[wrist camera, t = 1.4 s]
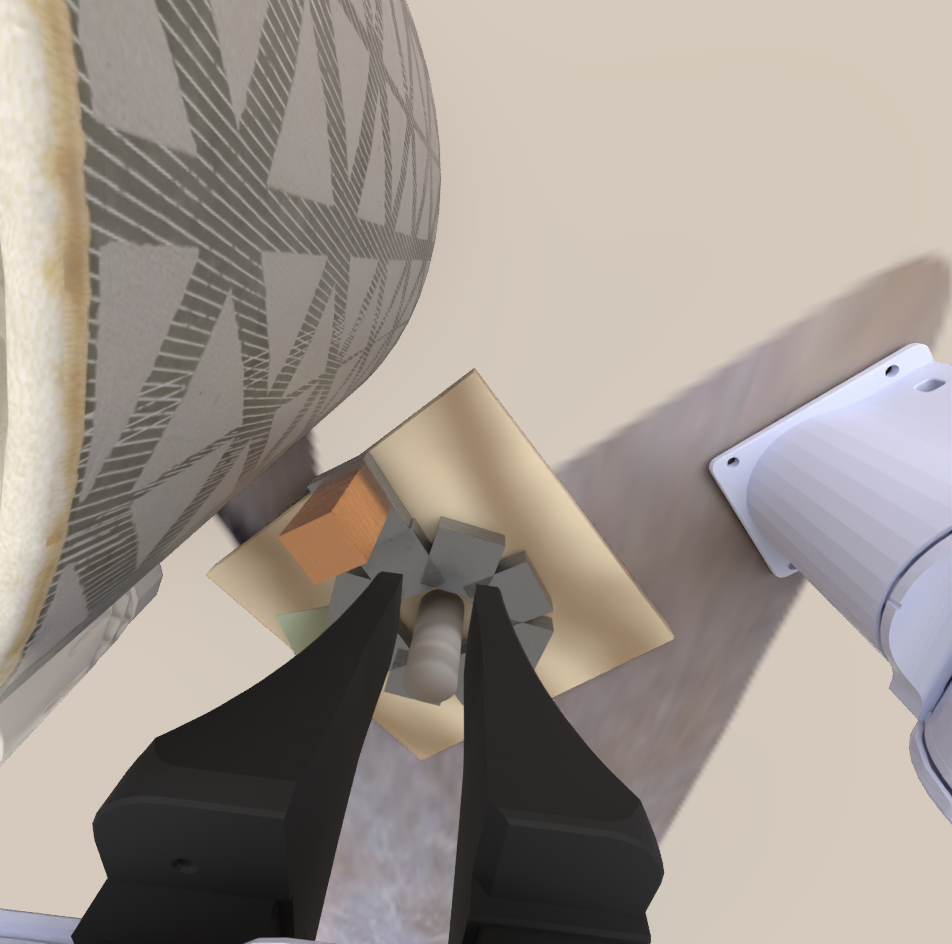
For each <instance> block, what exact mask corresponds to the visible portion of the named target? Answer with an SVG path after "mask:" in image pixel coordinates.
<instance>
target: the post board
mask: <svg viewBox="0 0 952 944" xmlns="http://www.w3.org/2000/svg"><path fill="white" fill-rule="evenodd" d="M367 451H369V452H370V453H371V455H372V456H373V458H374V460H375V461H376V463H377V464H378V466H379V467H380V469H381V470H382V472H383V474H384V475H385V477H386V478H387V480H388V481H389V483H390V484H391V486H392V488H393V489H394V491H395V492H396V494H397V495H398V497H399V498H400V500H401V502H402V503H403V505H404V506H405V508H406V509H407V511H408V512H409V514H410V516H411V517H412V518H414V517H415V519H416V521H417V522H418V524H419V525H420V527H421V528H422V530H423V531H424V533H425V535H426V536H427V538H428V539H429V541H430V542H431V544H432V542H433V539H434V536H435V533H436V530H437V527H438V524H439V521H440V518H441V516H443V517H446V518H450V519H453V520H456V521H460V522H463V523H466V524H470V525H473V526H477V527H480V528H483V529H487V530H490V531H493V532H497V533H500V534H503V535H505V544H506V547H505V549H504V551H503V554H502V556H501V559H500V560H502V559H504V558H507V557H509V556H512V555H514V554H516V553H519V552H521V551H524V550H525V551H526V553H527V555H528V557H529V558H530V560H531V562H532V564H533V566H534V567H535V569H536V571H537V573H538V575H539V577H540V578H541V580H542V582H543V584H544V586H545V587H546V589H547V591H548V593H549V595H550V596H551V599H552V605H553V612H550V613H547V614H545V615H544V616H548V617H551V618H552V622H553V628H554V632H553V634H552V636H551V638H550V640H549V642H548V644H547V646H546V648H545V650H544V652H543V654H542V656H541V658H540V660H539V662H538V664H537V666H536V668H535V672H536V674H537V675H538V677H539V679H540V681H541V682H542V684H543V686H544V687H545V689H546V690H547V692H548V693H549V695H550V696H551V698H553V697H555V696H557V695H559V694H561V693H563V692H565V691H567V690H569V689H571V688H573V687H575V686H578V685H580V684H582V683H584V682H586V681H588V680H590V679H592V678H594V677H596V676H598V675H600V674H602V673H605V672H607V671H609V670H611V669H613V668H615V667H617V666H619V665H621V664H623V663H625V662H627V661H629V660H631V659H634V658H636V657H638V656H640V655H642V654H644V653H646V652H648V651H650V650H652V649H654V648H656V647H658V646H661V645H663V644H665V643H667V642H669V641H671V640H673V639H675V638H674V636H673V634H672V631H671V629H670V627H669V625H668V624H667V623H666V621H665V620H664V619H663V617H662V616H661V615H660V613H659V612H658V611H657V609H656V608H655V607H654V605H653V604H652V603H651V601H650V600H649V599H648V597H647V596H646V595H645V593H644V592H643V591H642V589H641V588H640V587H639V585H638V584H637V583H636V581H635V580H634V579H633V578H632V576H631V575H630V574H629V572H628V571H627V570H626V568H625V567H624V566H623V564H622V563H621V562H620V560H619V559H618V558H617V556H616V555H615V554H614V552H613V551H612V550H611V548H610V547H609V546H608V544H607V543H606V542H605V540H604V539H603V538H602V536H601V535H600V534H599V532H598V531H597V530H596V528H595V527H594V526H593V524H592V523H591V522H590V520H589V519H588V518H587V516H586V515H585V514H584V512H583V511H582V510H581V508H580V507H579V506H578V505H577V503H576V502H575V501H574V499H573V498H572V497H571V495H570V494H569V493H568V491H567V490H566V489H565V487H564V486H563V485H562V483H561V482H560V481H559V479H558V478H557V477H556V475H555V474H554V473H553V471H552V470H551V469H550V467H549V466H548V465H547V464H546V462H545V461H544V460H543V458H542V457H541V455H540V454H539V453H538V451H537V450H536V449H535V447H534V446H533V445H532V443H531V442H530V441H529V439H528V438H527V437H526V436H525V434H524V433H523V431H522V430H521V429H520V428H519V426H518V425H517V424H516V422H515V421H514V420H513V418H512V417H511V416H510V414H509V413H508V412H507V410H506V409H505V408H504V406H503V405H502V404H501V402H500V401H499V400H498V398H497V397H496V396H495V394H494V393H493V392H492V390H491V389H490V388H489V386H488V385H487V384H486V382H485V381H484V380H483V378H482V377H481V376H480V374H479V373H478V372H477V370H476V369H475V368H474V369H472V370H471V371H470V372H469V373H467V374H466V375H465V376H463V377H462V378H461V379H459V380H458V381H457V382H455V383H454V384H453V385H451V386H450V387H449V388H447V389H446V390H445V391H443V392H442V393H441V394H439V395H438V396H437V397H435V398H434V399H433V400H432V401H430V402H429V403H428V404H426V405H425V406H424V407H422V408H421V409H420V410H418V411H417V412H416V413H414V414H413V415H412V416H410V417H409V418H408V419H407V420H405V421H404V422H403V423H401V424H400V425H399V426H397V427H396V428H395V429H393V430H392V431H391V432H389V433H388V434H387V435H385V436H384V437H383V438H381V439H380V440H379V441H378V442H376V443H375V444H373V445H372V446H371V447H370V448H368V449H367V450H366V451H364V452H363V453H365V452H367ZM363 453H362V454H363ZM360 455H361V454H360ZM311 495H312V493H311V492H310V493H309V494H307V495H306V496H305V497H304V498H302V499H301V500H300V501H298V502H297V503H296V504H294V505H293V506H292V507H290V508H289V509H288V510H286V511H285V512H284V513H282V514H281V515H280V516H278V517H277V518H276V519H275V520H273V521H272V522H271V523H269V524H268V525H267V526H265V527H264V528H263V529H261V530H260V531H259V532H257V533H256V534H255V535H253V536H252V537H251V538H249V539H248V540H247V541H245V542H244V543H243V544H242V545H240V546H239V547H238V548H236V549H235V550H234V551H232V552H231V553H230V554H228V555H227V556H226V557H225V558H223V559H222V560H221V561H219V562H218V563H216V564H215V566H213V568H212V569H211V570H210V571H209V572H208V573H207V574H206V576H207V577H208V578H210V579H211V580H212V581H213V582H214V583H215V584H217V585H218V586H219V587H220V588H221V589H222V590H224V591H225V592H226V593H227V594H228V595H229V596H231V597H232V598H233V599H234V600H235V601H236V602H238V603H239V604H240V605H241V606H242V607H243V608H245V609H246V610H247V611H248V612H249V613H250V614H252V615H253V616H254V617H255V618H256V619H258V620H259V621H260V622H261V623H262V624H263V625H264V626H266V627H267V628H268V629H269V630H270V631H271V632H273V633H274V634H275V635H276V636H277V637H278V638H280V639H281V640H282V641H283V642H284V643H285V644H287V645H288V646H289V647H290V648H291V649H292V650H293V651H294V652H295V654H299V653H300V652H301V651H302V650H304V649H305V648H306V647H307V646H308V645H310V644H311V643H312V642H313V641H314V640H315V639H317V638H318V637H319V636H320V635H321V634H322V633H323V632H324V631H325V630H326V629H327V628H329V627H330V626H331V625H332V624H333V623H334V622H333V621H329V620H326V618H327V614H328V610H329V605H330V601H331V597H332V593H333V588H334V584H335V580H336V576H335V577H333V578H330V579H328V580H326V581H324V582H321V583H319V584H317V585H315V584H314V583H313V582H312V580H311V579H310V578H309V577H308V575H307V574H306V573H305V571H304V570H303V569H302V568H301V566H300V565H299V564H298V563H297V561H296V560H295V559H294V557H293V556H292V555H291V554H290V552H289V551H288V550H287V549H286V547H285V546H284V545H283V543H282V542H281V541H280V540H279V538H278V536H279V535H280V534H281V532H282V531H283V530H284V529H285V527H286V526H287V525H288V524H289V522H290V521H291V520H292V519H293V518H294V516H295V515H296V514H297V513H298V511H299V510H300V509H301V508H302V506H303V505H304V504H305V503H306V501H307V500H308V499H309V498H310V496H311ZM472 607H473V603H472V601H471V600H470V598H469V597H465V596H462V595H458V594H454V593H451V592H447V591H444V590H440V589H437V588H432V589H429V590H427V591H424V592H422V593H419V594H417V595H414V596H412V597H409V598H407V599H404V600H402V602H401V606H400V618H401V620H402V621H403V622H404V624H405V625H406V627H407V628H408V629H409V631H410V632H411V634H412V635H413V637H412V642H411V646H410V651H409V655H408V659H407V664H406V668H405V673H404V677H403V686H404V688H405V690H406V692H407V693H408V694H409V695H410V696H412V697H413V698H415V699H417V700H414V699H410V698H406V697H402V696H398V695H394V694H391V693H387V692H384V689H385V685H386V682H387V678H388V675H389V672H390V671H388V673H387V676H386V679H385V682H384V685H383V688H382V691H381V694H380V697H379V699H378V702H377V705H376V708H375V711H374V714H373V717H372V718H373V719H374V720H375V721H376V722H377V723H379V724H380V725H381V726H382V727H383V728H384V729H386V730H387V731H388V732H389V733H390V734H391V735H393V736H394V737H395V738H396V739H397V740H398V741H400V742H401V743H402V744H403V745H404V746H405V747H407V748H408V749H409V750H410V751H411V752H412V753H414V754H415V755H416V756H417V757H418V758H419V759H421V760H424V759H426V758H428V757H430V756H432V755H434V754H436V753H439V752H441V751H443V750H445V749H447V748H449V747H451V746H453V745H455V744H457V743H459V742H461V741H463V740H464V705H462V704H461V703H460V701H459V700H458V699H457V697H456V696H455V694H454V693H455V692H456V689H457V683H458V672H459V662H460V651H461V641H462V640H465V639H467V637H468V631H469V625H470V619H471V613H472ZM418 700H419V701H418ZM421 701H422V702H421ZM425 702H426V703H425ZM439 702H441V705H440V706H437V705H433V704H429V703H439Z"/></svg>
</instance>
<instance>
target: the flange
mask: <svg viewBox="0 0 952 944" xmlns="http://www.w3.org/2000/svg"><path fill="white" fill-rule="evenodd" d="M307 487H308V489H309V490H310V492H311V493H312V495H311V496H310V498H309V499H308V500H307V501H306V503H305V504H304V505H303V506H302V508H301V509H300V510H299V511H298V513H297V514H296V515H295V516H294V518H293V519H292V520H291V521H290V522H289V524H288V525H287V526H286V527H285V529H284V530H283V531H282V532H281V534H280V535H279V536H278V538H279V540H280V541H281V542H282V543H283V545H284V546H285V547H286V549H287V550H288V551H289V552H290V554H291V555H292V556H293V557H294V559H295V560H296V561H297V563H298V564H299V565H300V566H301V568H302V569H303V570H304V571H305V573H306V574H307V575H308V577H309V578H310V579H311V580H312V582H313V583H314V584H315V585H317V584H319V583H321V582H324V581H326V580H328V579H330V578H333V577H335V576H336V580H335V584H334V588H333V593H332V597H331V601H330V605H329V610H328V614H327V618H326V620H329V621H333V622H335V621H336V620H337V619H338V618H339V617H340V616H341V615H342V614H343V613H344V612H345V611H346V610H347V609H348V608H349V607H350V606H351V605H352V604H353V603H354V601H355V600H356V599H357V598H358V597H359V596H360V595H361V594H362V593H363V591H364V590H365V589H366V588H367V587H368V585H369V584H370V583H371V582H372V580H373V579H374V578H375V577H376V575H377V574H378V573H380V572H381V571H384V572H391V573H399V574H403V582H402V594H401V602H402V600H404V599H407V598H409V597H412V596H414V595H417V594H419V593H422V592H424V591H427V590H429V589H432V588H437V589H440V590H444V591H447V592H451V593H454V594H458V595H462V596H465V597H469V598H470V600H471V601H472V603H473V601H474V595H475V589H476V584H479V585H487V586H494V587H498V588H499V589H500V590H501V593H502V597H503V600H504V604H505V607H506V610H507V612H508V615H509V618H510V620H511V623H512V625H513V628H514V630H515V632H516V634H517V636H518V639H519V641H520V643H521V645H522V647H523V649H524V651H525V653H526V655H527V657H528V659H529V661H530V663H531V665H532V667H533V668H534V670H535V668H536V666H537V664H538V662H539V660H540V658H541V656H542V654H543V652H544V650H545V648H546V646H547V644H548V642H549V640H550V638H551V636H552V634H553V632H554V628H553V622H552V618H551V617H548V616H544V615H545V614H547V613H550V612H553V605H552V599H551V596H550V595H549V593H548V591H547V589H546V587H545V586H544V584H543V582H542V580H541V578H540V577H539V575H538V573H537V571H536V569H535V567H534V566H533V564H532V562H531V560H530V558H529V557H528V555H527V553H526V551H525V550H524V551H521V552H519V553H516V554H514V555H512V556H509V557H507V558H504V559H502V560H500V559H501V556H502V554H503V551H504V549H505V547H506V544H505V535H503V534H500V533H497V532H493V531H490V530H487V529H483V528H480V527H477V526H473V525H470V524H466V523H463V522H460V521H456V520H453V519H450V518H446V517H443V516H441V518H440V521H439V524H438V527H437V530H436V533H435V536H434V539H433V542H432V544H431V542H430V541H429V539H428V538H427V536H426V535H425V533H424V531H423V530H422V528H421V527H420V525H419V524H418V522H417V521H416V519H415V517H414V518H412V517H411V516H410V514H409V512H408V511H407V509H406V508H405V506H404V505H403V503H402V502H401V500H400V498H399V497H398V495H397V494H396V492H395V491H394V489H393V488H392V486H391V484H390V483H389V481H388V480H387V478H386V477H385V475H384V474H383V472H382V470H381V469H380V467H379V466H378V464H377V463H376V461H375V460H374V458H373V456H372V455H371V453H370V452H369V451H367V452H365V453H363V454H361V455H359V456H357V457H355V458H353V459H351V460H349V461H347V462H345V463H343V464H341V465H339V466H337V467H335V468H333V469H331V470H329V471H327V472H325V473H322V474H320V475H318V476H316V477H315V478H314V479H313V480H312V481H311V482H310V484H309V485H308V486H307ZM412 637H413V635H412V634H411V632H410V631H409V629H408V628H407V627H406V625H405V624H404V622H403V621H402V620H401V618H400V617H399V629H398V634H397V639H396V643H395V647H394V652H393V656H392V660H391V664H390V667H389V670H388V671H390V672H389V675H388V678H387V682H386V685H385V689H384V692H387V693H391V694H394V695H398V696H402V697H406V698H410V699H414V700H417V699H415V698H413V697H412V696H410V695H409V694H408V693H407V692H406V690H405V688H404V686H403V677H404V673H405V668H406V664H407V659H408V655H409V651H410V646H411V642H412ZM466 645H467V639H465V640H462V641H461V651H460V662H459V672H458V683H457V689H456V692H455V693H454V694H455V696H456V697H457V699H458V700H459V701H460V703H461V704H462V705H464V665H465V655H466ZM418 701H419V700H418ZM421 702H422V701H421ZM425 703H426V702H425ZM429 704H433V705H437V706H440V705H441V702H439V703H429Z"/></svg>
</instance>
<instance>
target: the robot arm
mask: <svg viewBox="0 0 952 944" xmlns="http://www.w3.org/2000/svg"><path fill="white" fill-rule="evenodd" d="M889 366H892V369H891V371H890V372H889V373H888V374H887V375H885V372H886V370H887V368H888V367H889ZM733 457H735V461H734V462H733V463H732V464H729V465H728V464H727V462H728V460H729V459H730V458H733ZM709 470H710V472H711V474H712V476H713V477H714V479H715V481H716V482H717V484H718V485H719V487H720V489H721V490H722V492H723V494H724V495H725V497H726V498H727V500H728V502H729V503H730V505H731V507H732V508H733V510H734V511H735V513H736V515H737V516H738V518H739V520H740V521H741V523H742V524H743V526H744V528H745V529H746V531H747V533H748V534H749V536H750V537H751V539H752V541H753V542H754V544H755V546H756V547H757V549H758V550H759V552H760V554H761V555H762V557H763V559H764V560H765V562H766V564H767V565H768V567H769V568H770V570H771V571H772V573H773V574H774V575H775V576H776V577H779V578H784V577H787V576H789V575H791V574H793V573H796V572H798V571H799V572H800V573H801V574H802V575H803V576H804V577H805V578H806V579H807V580H808V581H809V582H810V583H811V584H812V585H813V586H814V587H815V588H816V589H817V590H818V591H819V592H820V593H821V594H822V595H823V596H824V597H825V598H826V599H827V600H828V601H829V602H830V603H831V604H832V605H833V606H834V607H835V608H836V609H837V610H838V611H839V612H840V613H841V614H842V615H843V616H844V617H845V618H846V619H847V620H848V621H849V622H850V623H851V624H852V625H853V626H854V627H855V628H856V629H857V630H858V631H859V632H860V633H861V634H862V635H863V636H864V637H865V638H866V639H867V640H868V641H869V643H871V645H872V646H873V647H875V648H876V650H877V651H879V653H880V654H882V656H883V657H884V658H885V659H886V660H887V661H888V662H889V663H890V664H891V666H892V669H893V678H892V681H891V683H890V686H889V689H890V690H891V691H892V692H893V693H894V694H895V695H896V696H897V698H898V699H899V700H900V701H901V702H902V703H903V704H904V705H905V706H906V707H907V708H908V709H909V710H910V712H912V714H913V715H915V717H916V718H917V719H918V722H917V723H916V725H915V727H914V729H913V731H912V733H911V735H910V745H909V750H910V755H911V761H912V764H913V766H914V769H915V771H916V773H917V776H918V778H919V780H920V781H921V783H922V785H923V786H924V788H925V790H926V792H927V793H928V795H929V796H930V798H931V799H932V800H933V802H934V803H935V804H936V806H937V807H938V808H939V810H940V811H941V812H942V814H943V815H944V816H945V817H946V818H947V819H948V820H949V821H950V823H951V824H952V365H948V364H944V363H939V362H935V361H934V360H933V357H932V355H931V352H930V349H929V348H928V347H927V346H926V345H924V344H919V343H911V344H909V345H907V346H905V347H903V348H901V349H900V350H898V351H896V352H895V353H893V354H891V355H889V356H888V357H886V358H884V359H883V360H881V361H879V362H877V363H876V364H874V365H872V366H871V367H869V368H867V369H866V370H864V371H862V372H860V373H859V374H857V375H855V376H854V377H852V378H850V379H848V380H847V381H845V382H843V383H842V384H840V385H838V386H836V387H835V388H833V389H831V390H830V391H828V392H826V393H824V394H823V395H821V396H819V397H818V398H816V399H814V400H813V401H811V402H809V403H807V404H806V405H804V406H802V407H801V408H799V409H797V410H795V411H794V412H792V413H790V414H789V415H787V416H785V417H783V418H782V419H780V420H778V421H777V422H775V423H773V424H771V425H770V426H768V427H766V428H765V429H763V430H761V431H760V432H758V433H756V434H754V435H753V436H751V437H749V438H748V439H746V440H744V441H742V442H741V443H739V444H737V445H736V446H734V447H732V448H730V449H729V450H727V451H725V452H724V453H722V454H720V455H718V456H717V457H715V458H714V459H713V460H711V462H710V464H709ZM790 563H791V565H789V564H790ZM402 582H403V574H399V573H391V572H384V571H381V572H380V573H378V574H377V575H376V577H375V578H374V579H373V580H372V582H371V583H370V584H369V585H368V587H367V588H366V589H365V590H364V591H363V593H362V594H361V595H360V596H359V597H358V598H357V599H356V600H355V601H354V603H353V604H352V605H351V606H350V607H349V608H348V609H347V610H346V611H345V612H344V613H343V614H342V615H341V616H340V617H339V618H338V619H337V620H336V621H335V622H334V623H333V624H332V625H331V626H330V627H329V628H327V629H326V630H325V631H324V632H323V633H322V634H321V635H320V636H319V637H318V638H317V639H315V640H314V641H313V642H312V643H311V644H310V645H308V646H307V647H306V648H305V649H304V650H302V651H301V652H300V653H299V654H297V655H296V656H295V657H294V658H292V659H291V660H290V661H289V662H287V663H286V664H285V665H283V666H282V667H280V668H279V669H277V670H276V671H274V672H273V673H272V674H270V675H269V676H267V677H266V678H265V679H263V680H262V681H260V682H259V683H257V684H256V685H254V686H252V687H251V688H249V689H248V690H246V691H244V692H243V693H241V694H239V695H238V696H236V697H234V698H232V699H231V700H229V701H228V702H226V703H224V704H222V705H221V706H219V707H217V708H216V709H214V710H212V711H210V712H208V713H206V714H204V715H202V716H200V717H198V718H196V719H194V720H192V721H190V722H188V723H186V724H184V725H182V726H180V727H178V728H176V729H174V730H172V731H169V732H167V733H165V734H163V735H161V736H159V737H156V738H155V739H154V740H153V742H152V743H151V744H150V745H149V746H148V748H147V749H146V750H145V751H144V752H143V753H142V754H141V755H140V756H139V757H138V758H137V760H136V761H135V762H134V763H133V765H132V766H131V767H130V768H129V769H128V771H127V772H126V773H125V775H124V776H123V778H122V779H121V780H120V782H119V783H118V785H117V786H116V787H115V789H114V790H113V791H112V793H111V794H110V796H109V797H108V798H107V800H106V801H105V802H104V804H103V805H102V806H101V808H100V809H99V810H98V812H97V813H96V816H95V819H94V821H93V823H92V824H93V832H94V839H95V843H96V846H97V848H98V851H99V854H100V857H101V860H102V863H103V866H104V869H105V871H106V874H107V877H108V878H107V880H106V881H105V883H104V885H103V886H102V888H101V889H100V891H99V892H98V894H97V896H96V897H95V899H94V900H93V902H92V903H91V905H90V907H89V908H88V910H87V911H86V913H85V914H84V916H83V918H74V917H65V916H57V915H49V914H41V913H32V912H25V911H16V910H8V909H0V944H334V943H326V942H318V941H315V939H316V935H317V930H318V926H319V921H320V917H321V913H322V908H323V904H324V899H325V895H326V891H327V887H328V882H329V878H330V874H331V870H332V865H333V861H334V857H335V853H336V848H337V844H338V840H339V836H340V832H341V828H342V824H343V819H344V815H345V811H346V807H347V803H348V799H349V795H350V791H351V787H352V783H353V779H354V775H355V771H356V767H357V763H358V759H359V756H360V753H361V749H362V746H363V743H364V740H365V737H366V734H367V731H368V728H369V725H370V722H371V719H372V717H373V714H374V711H375V708H376V705H377V702H378V699H379V697H380V694H381V691H382V688H383V685H384V682H385V679H386V676H387V673H388V670H389V667H390V664H391V660H392V656H393V652H394V647H395V643H396V639H397V634H398V629H399V617H400V606H401V594H402ZM663 875H664V869H663V862H662V858H661V854H660V850H659V847H658V844H657V841H656V838H655V835H654V832H653V830H652V827H651V825H650V822H649V820H648V817H647V815H646V812H645V810H644V807H643V805H642V803H641V801H640V799H639V798H638V797H637V796H636V795H634V794H633V793H632V792H631V791H630V790H629V789H628V788H627V787H626V786H625V785H624V784H623V783H622V782H621V781H620V780H619V779H618V778H617V777H616V776H615V775H614V774H613V773H612V772H611V771H610V770H609V769H608V768H607V767H606V766H605V765H604V764H603V763H602V762H601V760H600V759H599V758H598V757H597V756H596V755H595V754H594V753H593V752H592V750H591V749H590V748H589V747H588V746H587V744H586V743H585V742H584V741H583V739H582V738H581V737H580V736H579V734H578V733H577V732H576V731H575V729H574V728H573V727H572V726H571V724H570V723H569V722H568V721H567V719H566V718H565V717H564V715H563V714H562V712H561V711H560V710H559V708H558V707H557V705H556V704H555V702H554V701H553V700H552V698H551V696H550V695H549V693H548V692H547V690H546V689H545V687H544V686H543V684H542V682H541V681H540V679H539V677H538V675H537V674H536V672H535V670H534V668H533V667H532V665H531V663H530V661H529V659H528V657H527V655H526V653H525V651H524V649H523V647H522V645H521V643H520V641H519V639H518V636H517V634H516V632H515V630H514V628H513V625H512V623H511V620H510V618H509V615H508V612H507V610H506V607H505V604H504V600H503V597H502V593H501V590H500V589H499V588H498V587H494V586H487V585H479V584H476V589H475V595H474V601H473V607H472V613H471V619H470V625H469V631H468V637H467V645H466V655H465V665H464V767H463V782H462V795H461V807H460V819H459V831H458V842H457V854H456V865H455V877H454V888H453V899H452V910H451V921H450V931H449V942H448V944H650V943H651V935H650V931H649V926H648V922H647V918H646V913H645V912H646V910H647V908H648V906H649V904H650V903H651V901H652V899H653V897H654V895H655V893H656V892H657V890H658V888H659V886H660V885H661V882H662V879H663Z"/></svg>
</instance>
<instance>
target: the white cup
mask: <svg viewBox="0 0 952 944" xmlns="http://www.w3.org/2000/svg"><path fill="white" fill-rule="evenodd" d="M162 576H163V574H162V570H161V566H160V563H159V564H158V565H157V566H156V567H155V568H154V569H153V570H151V571H150V572H149V573H148V574H147V575H146V576H145V577H143V578H142V579H141V580H140V581H139V582H138V583H137V584H136V585H134V586H133V587H132V588H131V589H130V590H129V591H128V592H126V593H125V594H124V595H123V596H122V597H121V598H120V599H119V600H117V601H116V602H115V603H114V604H113V605H112V606H111V607H109V608H108V609H107V610H106V611H105V612H104V613H103V614H102V615H100V616H99V617H98V618H97V619H96V620H95V621H94V622H93V623H91V624H90V625H89V626H88V627H87V628H86V629H85V630H83V631H82V632H81V633H80V634H79V635H78V636H77V637H76V638H74V639H73V640H72V641H71V642H70V643H69V644H68V645H66V646H65V647H64V648H63V649H62V650H61V651H60V652H59V653H57V654H56V655H55V656H54V657H53V658H52V659H51V660H49V661H48V662H47V663H46V664H45V665H44V666H43V667H42V668H40V669H39V670H38V671H37V672H36V673H35V674H34V675H32V676H31V677H30V678H29V679H28V680H27V681H26V682H25V683H23V684H22V685H21V686H20V687H19V688H18V689H17V690H16V691H14V692H13V693H12V694H11V695H10V696H9V697H8V698H6V699H5V700H4V701H3V702H2V703H1V704H0V766H1V765H2V764H3V763H4V762H5V761H6V760H7V759H8V758H9V757H10V755H11V754H12V753H13V752H14V751H15V750H16V749H17V748H18V747H19V746H20V745H21V744H22V742H23V741H24V740H25V739H26V738H27V737H28V736H29V735H30V734H31V733H32V732H33V731H34V729H35V728H36V727H37V726H38V725H39V724H40V723H41V722H42V721H43V720H44V719H45V718H46V717H47V715H48V714H49V713H50V712H51V711H52V710H53V709H54V708H55V707H56V706H57V705H58V703H60V702H61V701H62V699H63V698H64V697H65V696H66V695H67V694H68V693H69V692H70V691H71V690H72V689H73V688H74V686H75V685H76V684H77V683H78V682H79V681H80V680H81V679H82V678H83V677H84V676H85V675H86V674H87V673H88V671H89V670H90V669H91V668H92V667H93V666H94V665H95V663H96V662H97V661H98V659H99V658H100V657H101V656H102V655H103V654H104V653H105V652H106V651H107V650H108V649H109V648H110V647H111V646H112V645H113V644H114V642H115V641H116V640H117V639H118V638H119V636H120V635H121V634H122V632H123V631H124V629H125V628H126V626H127V625H128V624H129V623H130V622H131V621H132V620H133V619H134V618H135V617H136V616H137V615H138V614H139V613H140V612H141V610H142V609H143V608H144V607H145V606H146V605H147V604H148V603H149V602H150V601H151V600H152V599H153V598H154V597H155V596H156V594H157V592H158V589H159V585H160V582H161V579H162Z"/></svg>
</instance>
